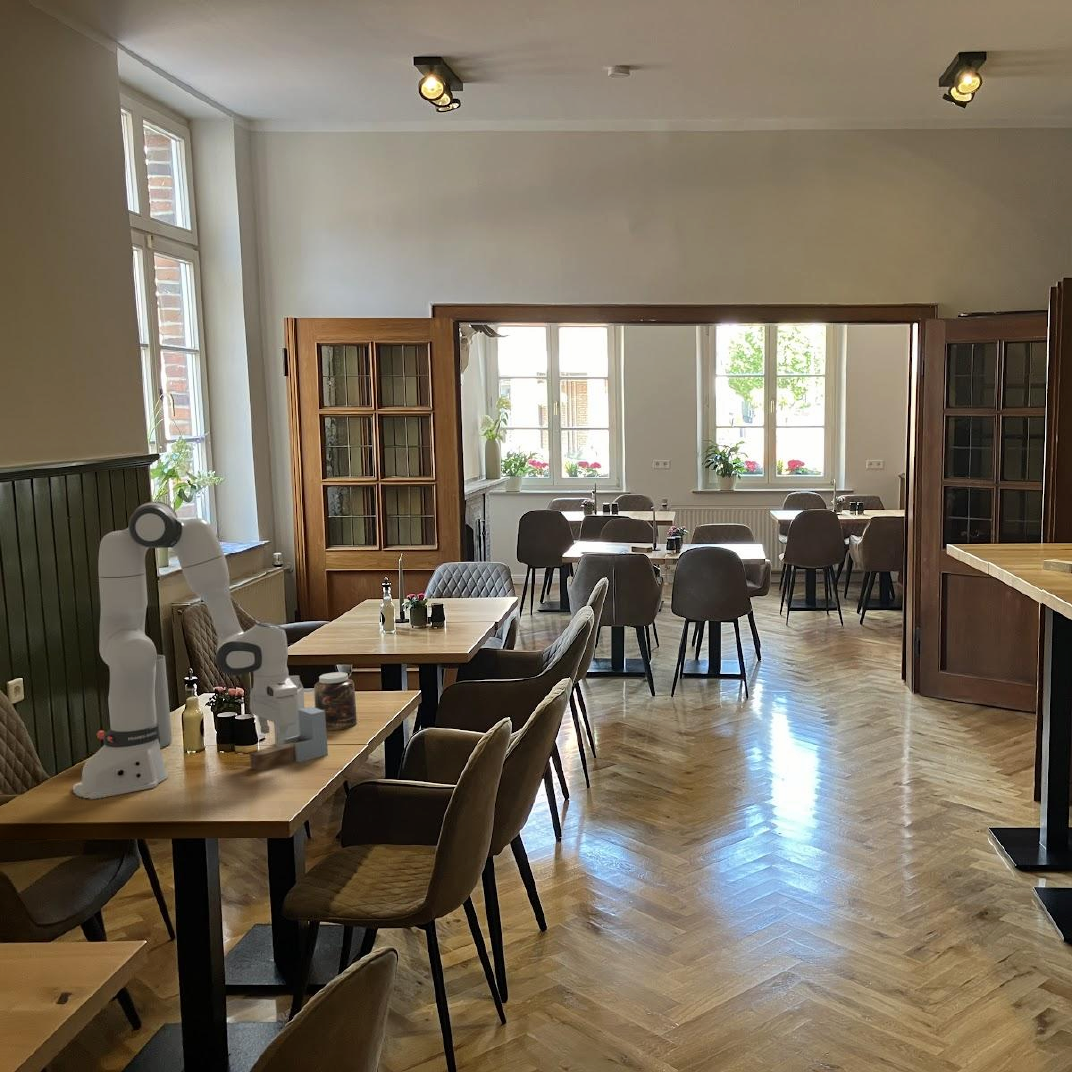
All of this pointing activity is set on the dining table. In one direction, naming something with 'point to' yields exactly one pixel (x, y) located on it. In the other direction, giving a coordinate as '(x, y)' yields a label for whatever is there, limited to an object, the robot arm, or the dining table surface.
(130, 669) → the robot arm
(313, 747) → the blue l-shaped block
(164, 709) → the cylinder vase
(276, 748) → the rail
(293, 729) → the milk carton
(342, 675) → the jar
